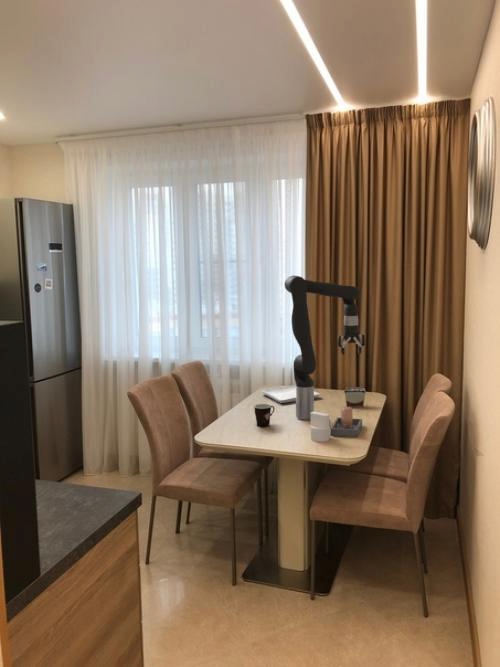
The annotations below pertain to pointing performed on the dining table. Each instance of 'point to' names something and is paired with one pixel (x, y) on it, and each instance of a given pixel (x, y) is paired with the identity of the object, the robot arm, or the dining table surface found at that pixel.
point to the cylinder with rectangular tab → (319, 427)
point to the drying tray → (338, 431)
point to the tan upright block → (346, 417)
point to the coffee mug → (263, 414)
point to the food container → (354, 396)
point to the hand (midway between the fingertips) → (351, 354)
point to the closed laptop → (284, 393)
